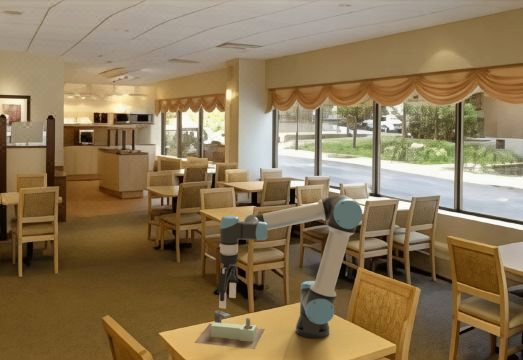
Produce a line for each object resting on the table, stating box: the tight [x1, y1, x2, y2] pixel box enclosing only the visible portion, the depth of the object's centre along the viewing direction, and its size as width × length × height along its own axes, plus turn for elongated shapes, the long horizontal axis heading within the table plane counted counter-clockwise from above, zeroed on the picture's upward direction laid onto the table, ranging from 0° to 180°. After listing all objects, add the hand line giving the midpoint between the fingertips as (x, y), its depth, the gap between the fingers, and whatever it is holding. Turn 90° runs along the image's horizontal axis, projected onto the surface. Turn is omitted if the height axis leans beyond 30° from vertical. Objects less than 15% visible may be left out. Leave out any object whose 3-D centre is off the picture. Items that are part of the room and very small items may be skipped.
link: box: [211, 321, 257, 342], centre depth 232 cm, size 19×6×5 cm, turn 79°
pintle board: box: [194, 309, 266, 350], centre depth 234 cm, size 26×22×10 cm
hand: (227, 302), depth 225 cm, fingers open, 13 cm apart
